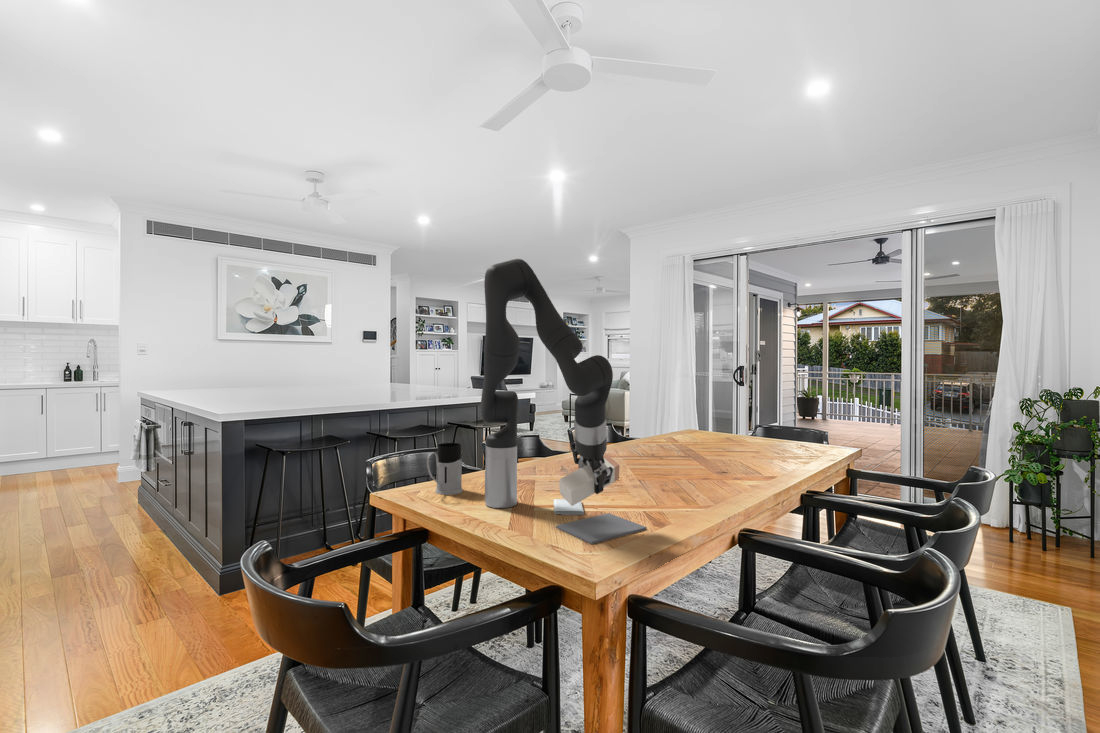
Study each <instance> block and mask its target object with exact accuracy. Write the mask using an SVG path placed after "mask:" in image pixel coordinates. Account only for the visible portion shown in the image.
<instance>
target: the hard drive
mask: <svg viewBox="0 0 1100 733" xmlns="http://www.w3.org/2000/svg"><path fill="white" fill-rule="evenodd" d="M552 502H553V503H552V504H553V514H561V515H560V516H584V515H585V511H584V507H583V504H582V501H580V502H578V503H577V504H575V505H573V506H571V505H570V504H569V503H568V502H567V501H566V500H565V499H564V498H554V499H553V501H552Z"/></svg>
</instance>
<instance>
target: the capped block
mask: <svg viewBox="0 0 1100 733" xmlns="http://www.w3.org/2000/svg"><path fill="white" fill-rule="evenodd" d="M603 457H604V461H605V463H604V464H605V465H606V466H607V467H608V468H609V467H612V469H613V472H612V476H611V480H610V483H608V484H606V485H604V486H603V489H604V488H606V487H608V486H610V485H611V484H613V483H615V482H617V481H619V480H620V463H618V462H617V461H616V460H615V459H614V458H612V457H611V456H610V455H608V454H607V453H605V454H604V456H603ZM597 470H598V469H597ZM594 471H596V470H594ZM597 477H598V478H599V477H600V475H598V476H597ZM558 482H559V485H558V486H559V494H560V495H561V496H562V499H565V500H566V501H567V502H568V503H569V504H570V505H571V506H573V505H575V504H577V503H578V502H580V501H581V502H582V501H584V500H586V499H587V498H589V497H590V496H592V495H594V494H596V493H595V492H594V483H595V482H594V478H593V476H591V474H590V470H589V467H588V466H586V465H585V466H584V467H582V468H580V469H579V468H578V469H576V470H574V471H573V472H571V473H568V474H567V475H565V476H564V477H561V478H559V479H558Z"/></svg>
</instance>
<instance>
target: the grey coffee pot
mask: <svg viewBox="0 0 1100 733" xmlns="http://www.w3.org/2000/svg"><path fill="white" fill-rule="evenodd" d="M436 447H437V448H436V449H437V451H436V452H434V451H433V452H432V451H431V452H430V453H428V454H427V458H426V468H427V471H428V472H427V473H428V474H429V477H430V478H431V479H432V480H433V481H434V482H435V483H436V489H435V491H434V493H436V494H437V495H441V496H442V495H443V496H449V495H451V496H452V495H458V494H462V493H463V491H464V489H463V487H462V484H463V483H462V464H463V463H462V462H463V461H462V457H463V456H462V444H461V443H458V442H444V443H439V444H437V446H436ZM433 454H434V456H435V461H436V462H435V463H436V478H435V477H434V476H433V474H432V472H431V468H430V458H431V456H432V455H433Z"/></svg>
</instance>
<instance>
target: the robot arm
mask: <svg viewBox="0 0 1100 733" xmlns="http://www.w3.org/2000/svg"><path fill="white" fill-rule="evenodd" d="M483 286H484V287H483V288H484V300H485V302H484V304H485V335H484V336H485V337H484V346H483V347H484V350H483V382H482V391H481V398H480V399H481V400H480V416H481V419H482V421H483V422H485V423H489V424H490V423H499V424H500V423H503V424H504V423H506V424H505V425H504V427H503V428H501V429H500V430H497V431H496V432H493V433H490V434H488V435H487V436H486V437H485V470H484V502H485V505H486V507H489V508H493V509H504V508H505V509H506V508H507V509H508V508H512V507H514V506H516V505H517V504H518V419H519V396H518V394H517V392H516V391H512V390H502V391H501V390H497V388H498V387H499V386H500V385H501V383H502V382H503V381H504V380H505V379H506V378H507V377H508V376H509V375H510V374H511V373H512V372H513V371H514V369H515V368H516V366H517V364H518V362H519V355H520V342H521V341H520V338H519V335H518V333H517V331H516V330H515V328H514V327H513V326H512V324H511V323H510V322H509V320H508V319H507V307H508V306H507V305H508V303H509V301H512V300H513V301H514V300H516V299H519V298H522V297H524V298H525V299H527V300H528V302H530V304H531V305H532V307H533V310H534V316H535V317H534V318H535V327H536V328H535V329H536V332H537V335H538V338H539V339H540V341H541V343H542V344H543V345H544V347H545V348H546V349H547V350H548V351H549V353H550V354H551V355H552V357H553V358H554V359H555V361H556V363H557V366H558V368H559V370H560V372H561V375H562V377H563V379H564V382H565V385H566V386H567V388H568V390H569V392H571V393H573V394H574V395H577V397H576V398H575V400H574V441H573V442H572V443H570V448H571V453H572V457H573V462H574V464H575V465H578V469H580V468H582V467H584V466H585V465H586V466H588V467H589V470H590V474H591V476H593V478H594V482H595V483H594V492H595V493H594V494H596V495H598V494H601V493H603V491H604V488H603V486H604V485H606V484H608V483H610V480H611V476H612V472H613V469H612V467H609V468H608V467H607V466H606V465H605V464H604V463H605V461H604V457H603V456H604V455H605V454H606V451H607V447H608V446H607V439H608V438H607V436H608V435H607V434H608V433H607V422H606V421H607V420H606V404H607V401H608V399H609V395H610V392H611V388H612V384H613V379H614V378H613V376H614V373H613V368H612V365H611V363H610V362H609V360H608V359H607V358H606V357H605V356H603V355H599V354H598V355H597V354H595V355H592V356H590V357H587V358H585V359H584V360H582V361H579V362H577V361H576V360H575V359H576V358H577V357H578V356H579V355H580V354H581V352H582V351H583V348H584V347H583V342H582V341H581V339H580V338H579V337H578V335H577V334H576V333H575V332H574V331H573V330H572V328H571V327H570V326H569V324H567V323H566V322H565V320H564V319H563V317H562V316H561V315H560V313H559V311H558V310H557V309H556V307H555V306H554V304H553V302H552V301H551V299H550V297H549V295H548V292H546V290H545V288H544V286H543V285H542V283H541V282H540V280H539V278H538V276H537V275H536V273H535V272H534V270H533V268H532V267H531V266H530V265H529V263H528V262H526V261H525V260H524V259H521V258H514V259H509V260H506V261H503V262H499V263H494V264H491V265H490V266H488V267H487V269H486V271H485V273H484V284H483ZM578 456H579V457H578ZM597 469H598V470H597ZM594 470H596V471H594ZM598 475H600V477H599V478H598V477H597V476H598Z"/></svg>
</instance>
